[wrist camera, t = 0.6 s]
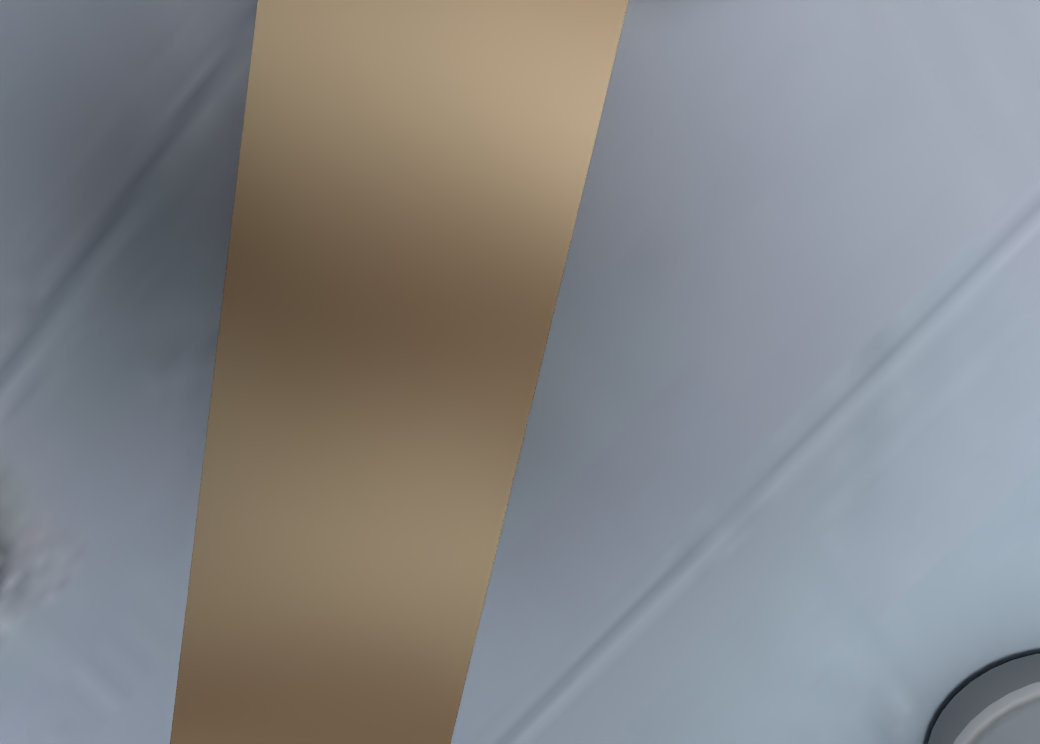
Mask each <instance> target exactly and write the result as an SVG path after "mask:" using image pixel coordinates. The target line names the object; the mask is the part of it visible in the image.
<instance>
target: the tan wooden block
mask: <svg viewBox="0 0 1040 744" xmlns="http://www.w3.org/2000/svg"><path fill="white" fill-rule="evenodd" d="M628 1H629V0H258V3H257V12H256V20H255V29H254V37H253V46H252V54H251V63H250V71H249V80H248V88H247V97H246V105H245V113H244V122H243V130H242V139H241V147H240V156H239V164H238V173H237V181H236V190H235V198H234V206H233V215H232V223H231V232H230V240H229V249H228V257H227V266H226V274H225V283H224V291H223V299H222V308H221V316H220V325H219V333H218V342H217V350H216V359H215V367H214V376H213V384H212V393H211V401H210V409H209V418H208V426H207V435H206V443H205V452H204V460H203V469H202V477H201V486H200V494H199V502H198V511H197V519H196V528H195V536H194V545H193V553H192V562H191V570H190V579H189V587H188V596H187V604H186V612H185V621H184V629H183V638H182V646H181V655H180V663H179V672H178V680H177V689H176V697H175V705H174V714H173V722H172V731H171V739H170V744H450V743H451V739H452V735H453V730H454V726H455V722H456V718H457V714H458V710H459V705H460V701H461V697H462V693H463V689H464V685H465V680H466V676H467V672H468V668H469V664H470V660H471V655H472V651H473V647H474V643H475V639H476V635H477V630H478V626H479V622H480V618H481V614H482V610H483V605H484V601H485V597H486V593H487V589H488V585H489V580H490V576H491V572H492V568H493V564H494V560H495V555H496V551H497V547H498V543H499V539H500V535H501V530H502V526H503V522H504V518H505V514H506V510H507V505H508V501H509V497H510V493H511V489H512V485H513V480H514V476H515V472H516V468H517V464H518V460H519V455H520V451H521V447H522V443H523V439H524V434H525V430H526V426H527V422H528V418H529V414H530V409H531V405H532V401H533V397H534V393H535V389H536V384H537V380H538V376H539V372H540V368H541V364H542V359H543V355H544V351H545V347H546V343H547V339H548V334H549V330H550V326H551V322H552V318H553V314H554V309H555V305H556V301H557V297H558V293H559V289H560V284H561V280H562V276H563V272H564V268H565V264H566V259H567V255H568V251H569V247H570V243H571V239H572V234H573V230H574V226H575V222H576V218H577V214H578V209H579V205H580V201H581V197H582V193H583V189H584V184H585V180H586V176H587V172H588V168H589V164H590V159H591V155H592V151H593V147H594V143H595V139H596V134H597V130H598V126H599V122H600V118H601V114H602V109H603V105H604V101H605V97H606V93H607V89H608V84H609V80H610V76H611V72H612V68H613V64H614V59H615V55H616V51H617V47H618V43H619V39H620V34H621V30H622V26H623V22H624V18H625V14H626V9H627V5H628Z"/></svg>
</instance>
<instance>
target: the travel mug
mask: <svg viewBox="0 0 1040 744" xmlns="http://www.w3.org/2000/svg"><path fill="white" fill-rule="evenodd" d="M928 744H1040V654H1033V655H1029V656H1026V657H1022V658H1018V659H1014V660H1011V661H1009V662H1006V663H1004V664H1002V665H999V666H997V667H995V668H992V669H990V670H989V671H987V672H986V673H984V674H982V675H981V676H979V677H978V678H976V679H974V680H973V681H971V682H970V683H969V684H968V685H967V686H965V687H964V688H963V689H962V690H961V691H960V692H959V693H957V694H956V695H955V696H954V697H953V699H952V700H951V701H950V702H949V703H948V705H947V706H946V707H945V708H944V710H943V711H942V712H941V714H940V716H939V718H938V719H937V721H936V723H935V725H934V727H933V729H932V732H931V735H930V738H929V742H928Z"/></svg>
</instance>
